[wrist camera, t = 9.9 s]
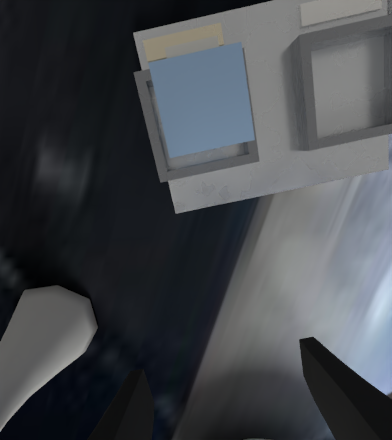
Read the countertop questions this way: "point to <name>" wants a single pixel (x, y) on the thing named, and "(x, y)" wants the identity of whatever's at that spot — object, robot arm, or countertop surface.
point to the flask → (41, 342)
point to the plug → (202, 96)
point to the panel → (285, 98)
